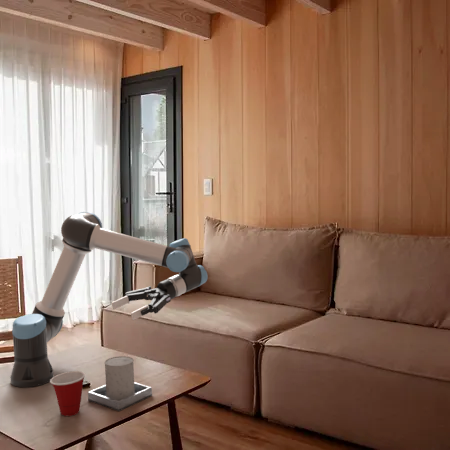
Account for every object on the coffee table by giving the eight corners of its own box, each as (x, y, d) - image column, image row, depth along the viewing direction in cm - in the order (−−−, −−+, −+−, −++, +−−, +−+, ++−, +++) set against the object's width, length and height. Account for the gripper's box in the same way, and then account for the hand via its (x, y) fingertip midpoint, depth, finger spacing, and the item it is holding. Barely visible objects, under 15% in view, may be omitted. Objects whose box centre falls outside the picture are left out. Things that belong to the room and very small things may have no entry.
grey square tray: (88, 400, 191) (87, 391, 191) (121, 386, 203) (121, 378, 202) (118, 411, 182) (118, 402, 181) (152, 395, 194) (151, 387, 193)
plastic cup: (56, 405, 187) (54, 370, 186) (90, 404, 187) (88, 369, 186) (47, 420, 176) (45, 383, 175) (82, 419, 177) (80, 381, 175)
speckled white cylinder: (128, 402, 187) (127, 366, 185) (101, 401, 189) (99, 365, 187) (139, 391, 196) (137, 356, 195) (112, 390, 198) (111, 355, 197)
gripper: (192, 306, 204) (142, 331, 192) (154, 289, 223) (107, 311, 211) (188, 287, 202) (138, 311, 190) (151, 271, 221) (102, 292, 208)
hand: (121, 311), depth 200 cm, fingers open, 13 cm apart
